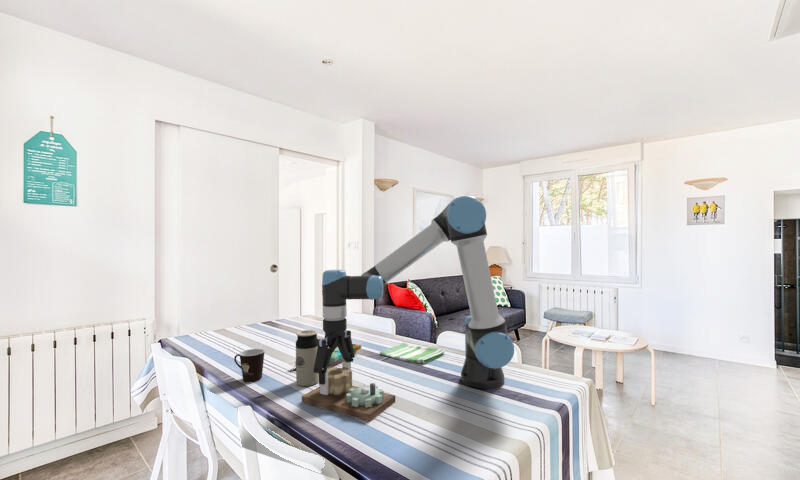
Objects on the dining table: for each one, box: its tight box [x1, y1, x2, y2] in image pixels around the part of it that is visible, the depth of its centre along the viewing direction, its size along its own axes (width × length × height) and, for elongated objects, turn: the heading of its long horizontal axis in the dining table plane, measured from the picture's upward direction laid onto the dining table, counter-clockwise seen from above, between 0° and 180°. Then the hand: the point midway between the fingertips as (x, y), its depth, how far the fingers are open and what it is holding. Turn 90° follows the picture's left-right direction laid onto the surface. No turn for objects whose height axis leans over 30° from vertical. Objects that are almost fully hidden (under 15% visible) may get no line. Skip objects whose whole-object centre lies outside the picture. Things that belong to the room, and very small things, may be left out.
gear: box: [346, 382, 385, 407], centre depth 109 cm, size 11×11×5 cm
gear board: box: [301, 385, 396, 423], centre depth 112 cm, size 26×14×6 cm, turn 60°
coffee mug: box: [233, 348, 265, 383], centre depth 134 cm, size 12×9×10 cm
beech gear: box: [319, 366, 353, 395], centre depth 115 cm, size 10×10×5 cm
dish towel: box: [379, 342, 446, 365], centre depth 159 cm, size 18×23×3 cm
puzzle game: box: [328, 343, 362, 367], centre depth 156 cm, size 12×5×20 cm
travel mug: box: [295, 329, 319, 387], centre depth 129 cm, size 8×8×18 cm
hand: (335, 387), depth 115 cm, fingers closed on beech gear, 10 cm apart
